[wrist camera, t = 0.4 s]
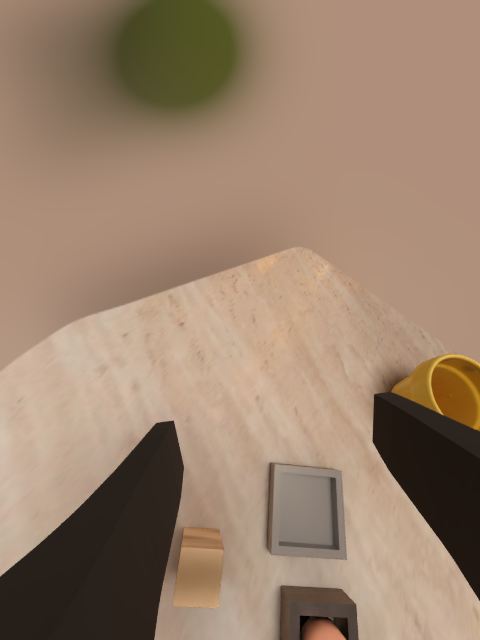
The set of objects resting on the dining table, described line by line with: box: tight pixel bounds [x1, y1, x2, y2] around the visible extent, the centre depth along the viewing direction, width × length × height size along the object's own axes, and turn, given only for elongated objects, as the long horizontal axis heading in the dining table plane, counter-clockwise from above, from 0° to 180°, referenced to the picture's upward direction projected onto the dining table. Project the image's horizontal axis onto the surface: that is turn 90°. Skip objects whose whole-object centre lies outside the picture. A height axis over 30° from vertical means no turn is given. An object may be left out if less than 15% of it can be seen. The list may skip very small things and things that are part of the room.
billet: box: [172, 527, 224, 608], centre depth 26 cm, size 4×4×6 cm
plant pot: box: [391, 354, 480, 431], centre depth 35 cm, size 10×10×10 cm
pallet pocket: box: [267, 463, 347, 560], centre depth 31 cm, size 9×9×2 cm
